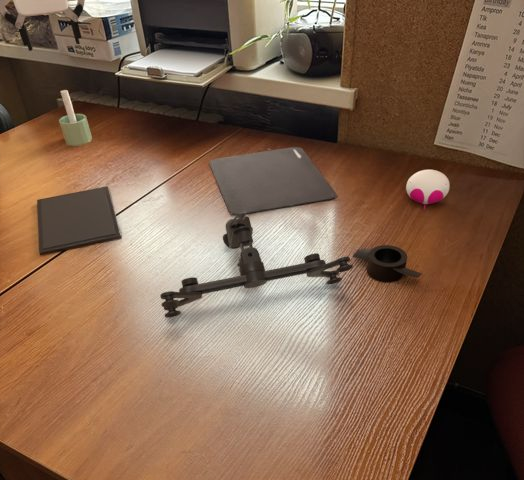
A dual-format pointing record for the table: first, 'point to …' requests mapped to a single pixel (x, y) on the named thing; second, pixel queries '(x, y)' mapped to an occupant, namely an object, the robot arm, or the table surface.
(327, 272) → the tablet mount
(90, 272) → the table surface
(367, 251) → the black winged ring
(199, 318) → the table surface
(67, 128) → the pen cup
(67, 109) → the stylus
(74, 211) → the tablet
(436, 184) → the stress ball
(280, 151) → the mouse pad
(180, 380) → the table surface
